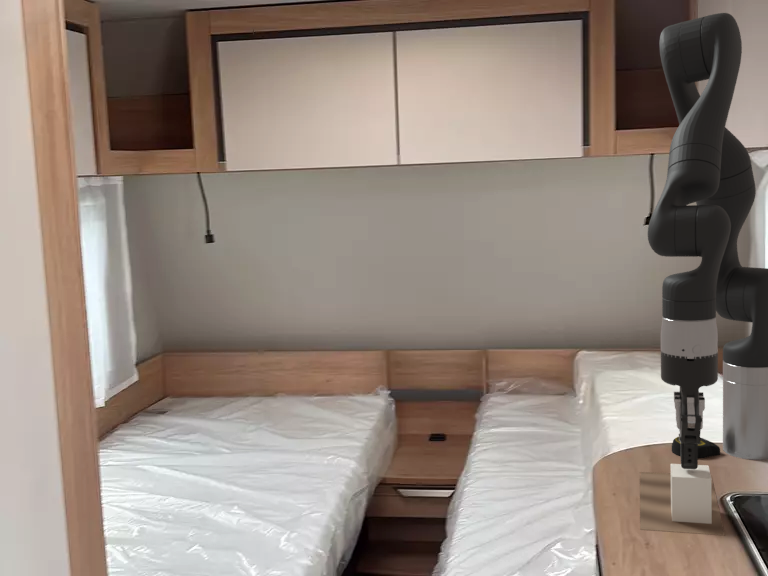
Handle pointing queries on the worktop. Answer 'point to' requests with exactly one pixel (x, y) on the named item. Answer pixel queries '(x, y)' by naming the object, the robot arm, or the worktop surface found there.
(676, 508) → the white rectangular block
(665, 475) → the board
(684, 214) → the robot arm
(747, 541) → the worktop surface
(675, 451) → the tape measure
